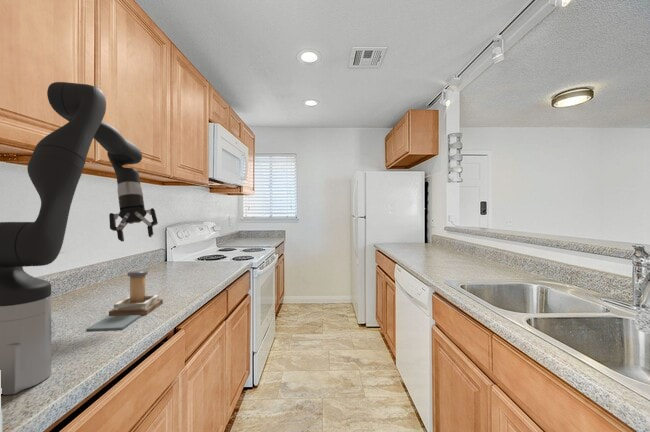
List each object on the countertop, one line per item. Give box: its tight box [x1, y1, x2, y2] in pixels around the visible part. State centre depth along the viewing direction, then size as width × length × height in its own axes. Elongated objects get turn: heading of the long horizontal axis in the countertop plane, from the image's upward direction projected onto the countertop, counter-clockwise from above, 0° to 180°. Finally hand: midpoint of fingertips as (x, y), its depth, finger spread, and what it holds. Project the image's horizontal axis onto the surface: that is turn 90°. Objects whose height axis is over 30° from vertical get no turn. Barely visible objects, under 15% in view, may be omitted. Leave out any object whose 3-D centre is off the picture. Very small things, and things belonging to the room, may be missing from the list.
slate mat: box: [86, 315, 142, 332], centre depth 88 cm, size 10×10×1 cm
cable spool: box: [127, 269, 148, 303], centre depth 101 cm, size 6×6×12 cm
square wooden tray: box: [108, 294, 164, 316], centre depth 101 cm, size 12×12×4 cm
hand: (136, 238), depth 101 cm, fingers open, 8 cm apart
